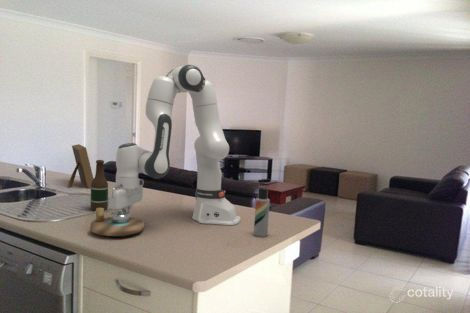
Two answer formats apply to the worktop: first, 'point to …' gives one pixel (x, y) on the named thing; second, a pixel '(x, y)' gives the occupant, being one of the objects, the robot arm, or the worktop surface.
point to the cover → (120, 217)
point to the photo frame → (82, 166)
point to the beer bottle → (99, 188)
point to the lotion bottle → (261, 213)
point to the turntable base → (117, 236)
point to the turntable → (114, 225)
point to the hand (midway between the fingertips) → (126, 216)
